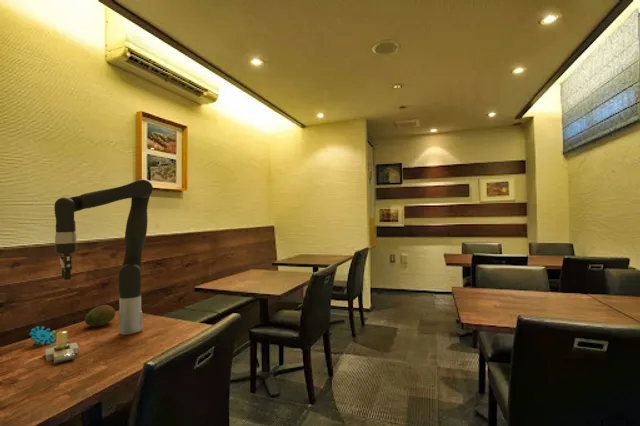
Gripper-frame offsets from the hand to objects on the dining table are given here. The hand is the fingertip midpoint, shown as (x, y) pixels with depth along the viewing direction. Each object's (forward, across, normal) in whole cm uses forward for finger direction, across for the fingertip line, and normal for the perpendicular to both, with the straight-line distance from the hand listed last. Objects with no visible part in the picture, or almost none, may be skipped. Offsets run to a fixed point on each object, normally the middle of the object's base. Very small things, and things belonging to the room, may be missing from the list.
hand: (66, 278), depth 144 cm
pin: (+29, -14, +3) cm, 32 cm away
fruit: (+29, +18, -16) cm, 38 cm away
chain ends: (+29, -14, +3) cm, 32 cm away
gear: (+29, +7, +8) cm, 31 cm away
